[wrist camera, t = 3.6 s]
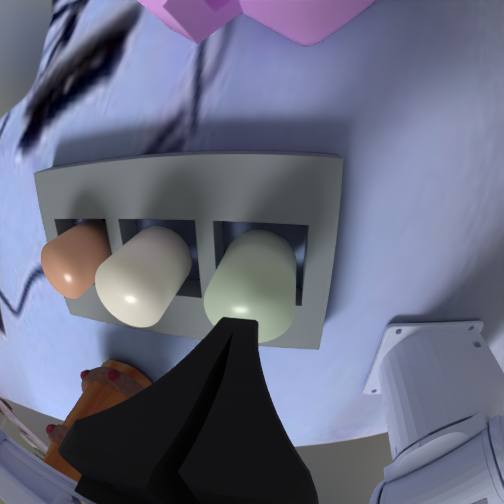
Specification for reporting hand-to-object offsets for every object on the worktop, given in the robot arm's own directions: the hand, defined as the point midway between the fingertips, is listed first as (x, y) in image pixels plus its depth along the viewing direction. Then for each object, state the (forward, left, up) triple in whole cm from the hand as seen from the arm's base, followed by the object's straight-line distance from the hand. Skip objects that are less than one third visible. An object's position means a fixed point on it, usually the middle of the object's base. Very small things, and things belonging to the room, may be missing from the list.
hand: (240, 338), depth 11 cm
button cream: (+6, 0, -6) cm, 9 cm away
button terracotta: (+12, 0, -7) cm, 14 cm away
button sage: (0, 0, -6) cm, 6 cm away
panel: (+6, 0, -8) cm, 10 cm away
